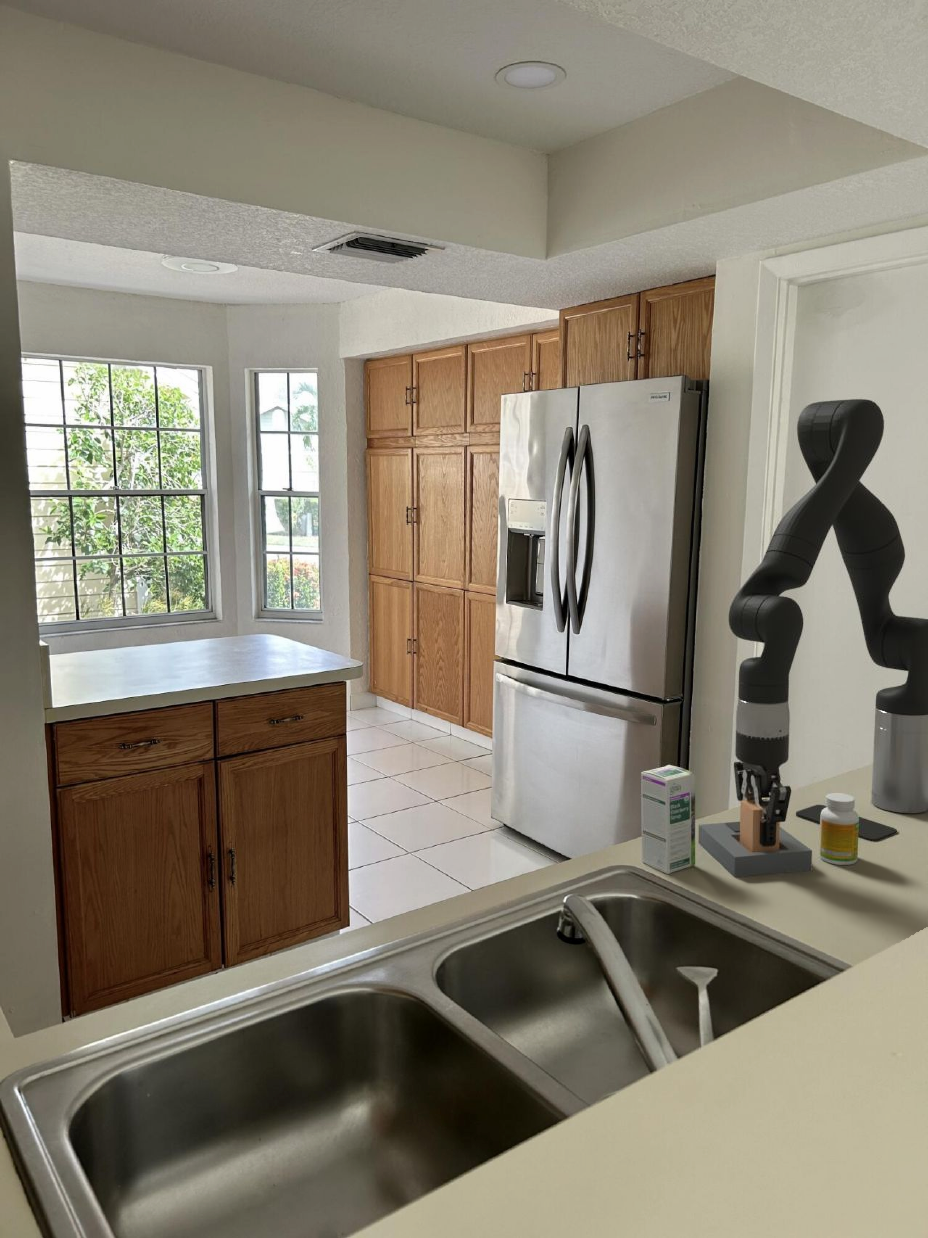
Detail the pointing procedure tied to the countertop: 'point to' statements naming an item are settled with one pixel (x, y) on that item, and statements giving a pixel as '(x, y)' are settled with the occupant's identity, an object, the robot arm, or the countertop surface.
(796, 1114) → the countertop surface
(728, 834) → the plate
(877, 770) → the robot arm
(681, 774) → the syrup box
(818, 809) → the phone
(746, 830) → the block
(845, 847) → the supplement bottle
